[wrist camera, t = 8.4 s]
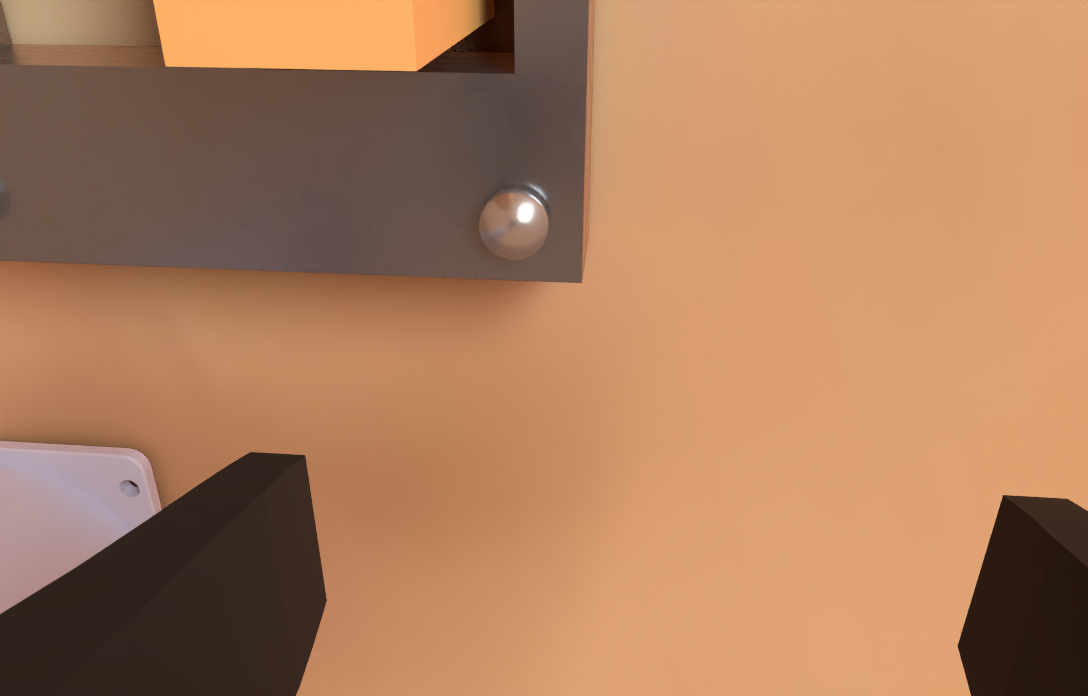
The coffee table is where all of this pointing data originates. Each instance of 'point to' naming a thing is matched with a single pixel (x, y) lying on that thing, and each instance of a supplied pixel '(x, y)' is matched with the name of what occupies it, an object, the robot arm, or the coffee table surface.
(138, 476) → the robot arm
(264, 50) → the orange rectangular block
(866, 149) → the coffee table surface
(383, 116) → the grey mounting plate
